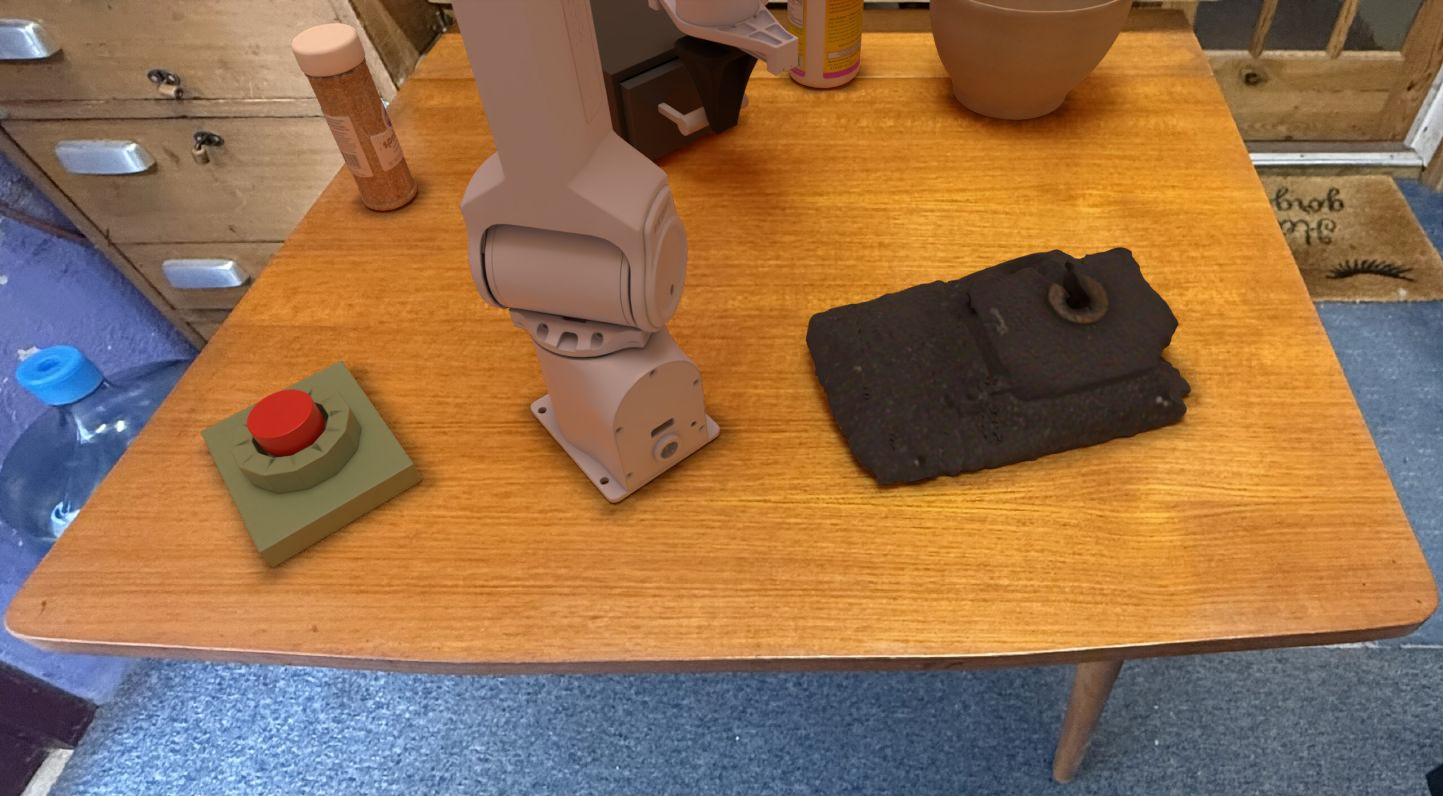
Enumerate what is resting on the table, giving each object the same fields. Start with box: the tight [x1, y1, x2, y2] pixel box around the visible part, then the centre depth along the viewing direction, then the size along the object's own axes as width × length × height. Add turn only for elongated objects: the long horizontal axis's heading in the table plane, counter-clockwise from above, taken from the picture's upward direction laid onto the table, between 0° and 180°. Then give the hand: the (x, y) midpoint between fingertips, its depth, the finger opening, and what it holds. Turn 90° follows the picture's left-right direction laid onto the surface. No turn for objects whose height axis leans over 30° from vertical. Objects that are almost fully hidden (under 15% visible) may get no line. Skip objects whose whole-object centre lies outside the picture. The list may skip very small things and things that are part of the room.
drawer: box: [620, 56, 750, 162], centre depth 69 cm, size 17×10×7 cm, turn 39°
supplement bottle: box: [786, 0, 865, 89], centre depth 73 cm, size 7×7×13 cm
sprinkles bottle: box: [290, 22, 418, 212], centre depth 63 cm, size 5×5×14 cm
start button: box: [247, 389, 325, 457], centre depth 47 cm, size 4×4×2 cm
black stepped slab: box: [805, 246, 1192, 484], centre depth 51 cm, size 15×22×5 cm
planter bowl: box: [929, 0, 1135, 121], centre depth 69 cm, size 16×16×11 cm
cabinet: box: [590, 0, 700, 159], centre depth 71 cm, size 14×12×9 cm
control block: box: [200, 360, 423, 568], centre depth 49 cm, size 11×9×4 cm
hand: (724, 127), depth 64 cm, fingers closed, pressing on drawer
